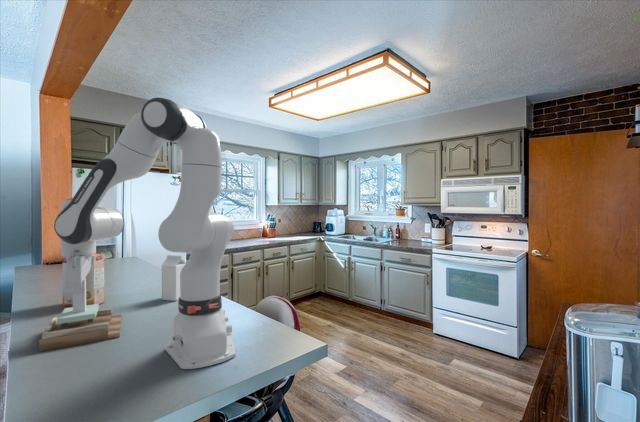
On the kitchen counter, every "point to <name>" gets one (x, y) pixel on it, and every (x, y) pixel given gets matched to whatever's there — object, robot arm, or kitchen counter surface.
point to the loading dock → (81, 331)
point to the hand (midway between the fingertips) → (79, 292)
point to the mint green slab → (79, 309)
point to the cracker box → (87, 282)
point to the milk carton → (171, 277)
